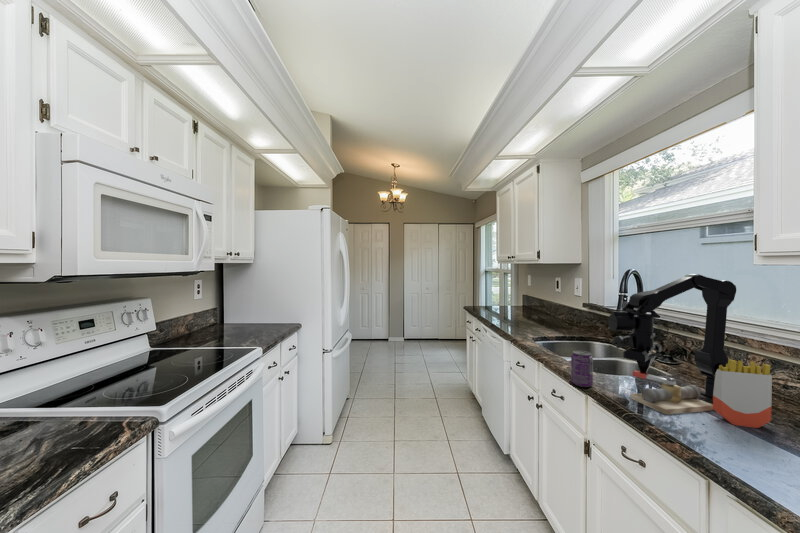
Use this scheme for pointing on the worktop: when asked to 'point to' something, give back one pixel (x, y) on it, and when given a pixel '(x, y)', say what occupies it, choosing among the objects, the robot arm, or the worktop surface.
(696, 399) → the valve board
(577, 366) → the beverage can
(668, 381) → the valve lever
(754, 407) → the french fries container
